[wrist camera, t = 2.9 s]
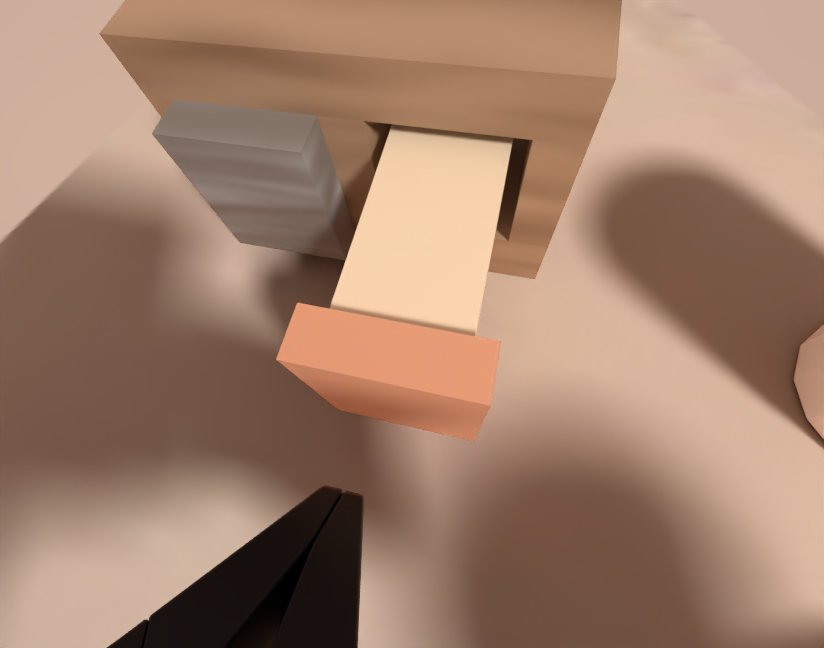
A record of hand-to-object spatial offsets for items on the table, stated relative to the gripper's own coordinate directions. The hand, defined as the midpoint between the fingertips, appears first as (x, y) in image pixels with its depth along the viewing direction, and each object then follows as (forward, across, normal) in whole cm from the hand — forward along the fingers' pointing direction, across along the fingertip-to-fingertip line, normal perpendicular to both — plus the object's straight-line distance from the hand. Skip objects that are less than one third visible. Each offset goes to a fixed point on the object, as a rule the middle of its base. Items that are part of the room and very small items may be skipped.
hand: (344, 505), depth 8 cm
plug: (+10, 0, -1) cm, 10 cm away
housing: (+16, +3, -4) cm, 16 cm away
